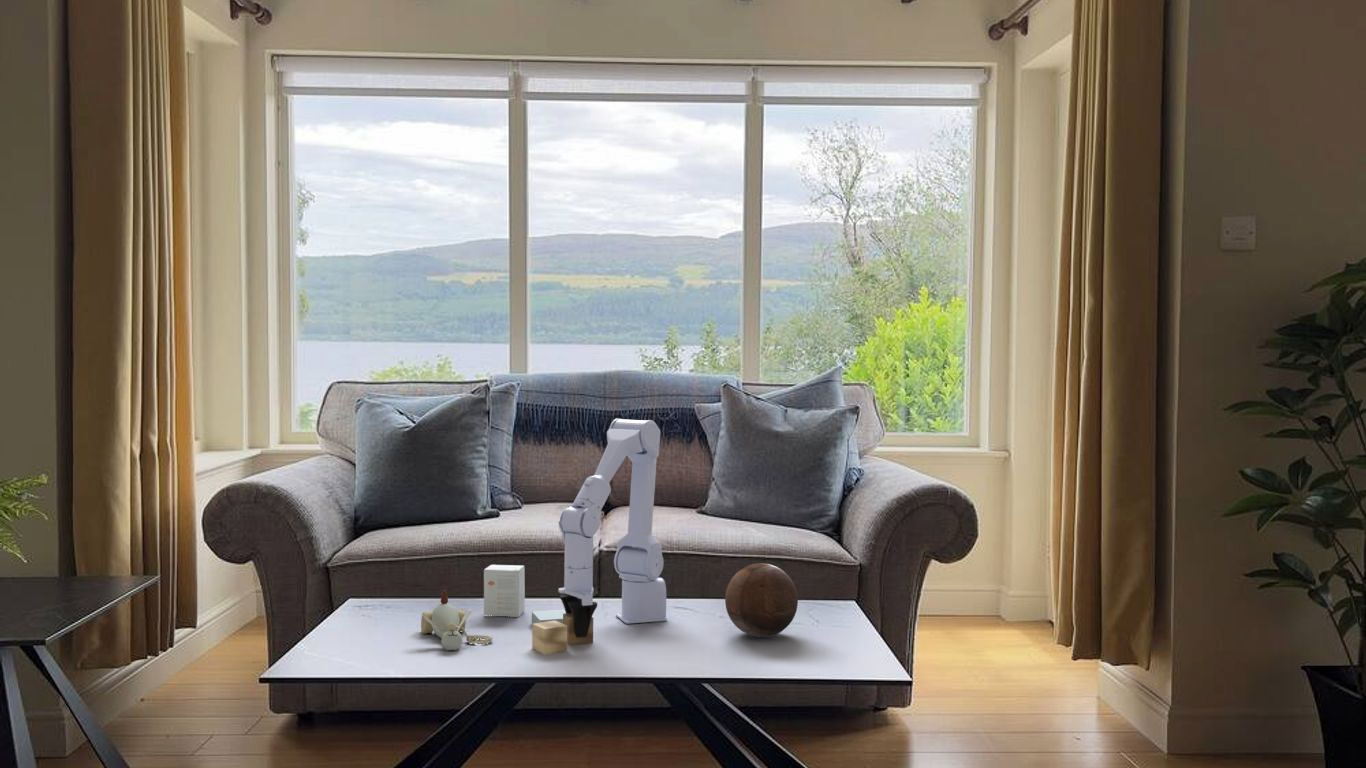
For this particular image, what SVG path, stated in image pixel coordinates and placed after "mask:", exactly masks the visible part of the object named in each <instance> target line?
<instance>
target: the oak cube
mask: <svg viewBox="0 0 1366 768" xmlns="http://www.w3.org/2000/svg"><path fill="white" fill-rule="evenodd" d="M531 625H532V628H531V629H532V630H531V631H532V632H531V634H532V635H531V636H532V637H531V638H532V639H531V640H532V641H531V644H532V645H531V649H532V650H534V649H535V650H534V651H536V652H539V653H540V654H543V655H544V656H545V655H551V654H555V653H556V654H558V653H562V652H567V651H568V643H567V625H565V624H562V623H560V622H558V621H555V620H554V621H547V622H541V623H534V624H532V623H531Z"/></svg>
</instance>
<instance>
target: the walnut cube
mask: <svg viewBox="0 0 1366 768" xmlns="http://www.w3.org/2000/svg"><path fill="white" fill-rule="evenodd" d="M563 624H565V625H567V645H578V644H589V643H590V644H591V643H594V617H593V616H592V618H591V621H590V626H589V630H588V634H587V637H576V634H575V629H574V620H573V615H572V613H566V614H563Z"/></svg>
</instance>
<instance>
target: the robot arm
mask: <svg viewBox="0 0 1366 768" xmlns="http://www.w3.org/2000/svg"><path fill="white" fill-rule="evenodd" d="M606 440H607V445H606V448H605V450H604V452H603V454H602V457H601V458H600V462H599V464H598V466H597V468H596V470H595V473H594V475H591V476H588V477H587V478H586V479H585V480H584V483H582V486H581V488H580V490H579V491H578V492H577V493H578V494H577V495H576V496H575V499H574V501H573V502H572V505H571V506H568V507H567V508H565V509H564V510H563V511H562V512H561V514H560V517H559V521H558V528H559V530H560V531H559V532H560V533H561V536H562V537H561V540H562V542H563V543H564V574H563V575H564V577H563V580H564V581H563V582H564V584H563V585H564V586H563V587H559V588H558V590H557V591H558V593H559V594H560V595H559V598H560V600H561V603H562V605H563V609H565V612H566V613H572V615H573V620H574V629H575V634H576V637H587V634H588V630H589V626H590V621H591V618H592V617H593V616H594V613H595V611H596V609H597V607H598V602H596V601H594V600H593V596H594V595H593V594H594V589H595V588H594V587H593V584H594V583H593V581H594V579H593V578H594V577H593V576H594V574H593V573H594V569H593V568H594V536H595V535H596V534H597V532H598V530H599V528H600V526H601V525H600V524H601V517H602V509H603V507H604V506H605V503H606V502H607V500H608V498H609V495H610V494H611V492H612V488H611V485H610V482H611V481H612V479H613V478H614V476H615V475H616V472H617V471H618V470H619V468H620V467H621V465H622V464H623V462H624V460H625V458H626V457H627V458H628V459H629V460H630V462H632V465H631V480H630V494H629V495H630V496H629V506H628V507H629V508H628V509H629V510H628V522H627V534H626V535H624V536H623V537H622V538H620V539H619V540H618V541H617V548H616V552H615V554H614V558H613V565H614V570H615V571H616V573H617V574H618V575H619V576H618V578H619V579H621V612H618V613H615V616H616V617H618V618H619V620H621V621H622V622H623V623H625V624H629V625H630V624H639V623H651V622H652V623H653V622H655V623H656V622H665V621H668V618H667V587H666V581H665V579H664V578H662V577H660V575H661V574H662V571H663V569H664V557H663V552H662V551H663V550H662V549H663V545H662V544H661V542H660V541H659V540H658V539H657V538H656V537H655V536H653V534H652V533H653V520H654V519H653V517H654V507H655V505H654V504H655V503H654V501H655V491H656V490H655V489H656V477H657V476H656V474H657V458H658V457H659V456H660V443H661V442H660V441H661V429H660V428H659V426H658V425H657V423H656V421H654V420H651V419H648V420H647V419H646V420H643V419H642V420H641V419H640V420H638V419H625V418H624V419H623V418H615V419H613V420H612V422H611V423H610V425H609V426H608V430H607V431H606Z"/></svg>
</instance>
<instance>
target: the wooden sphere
mask: <svg viewBox="0 0 1366 768" xmlns="http://www.w3.org/2000/svg"><path fill="white" fill-rule="evenodd" d="M724 599H725V600H724V602H725V609H726V612H727V616H728V617H729V619H730V621H731V622H732V623H733V625H734V626H735V627H736V628H738V629H739V630H740V631H741V632H742V633H744V634H746V635H748V636H752V637H756V638H768V637H772V636H775V635H778V634H780V633H782V632H783V631H784V630H785V629H787V628H788V626H789V625H790V624H791V623H792V622H793V620H794V619H795V616H796V613H797V610H798V606H799V605H798V604H799V603H798V602H799V598H798V592H797V588H796V586H795V583H794V582H793V580H792V579H791V577H790V576H789V575H788V574H787V573H786V572H785V571H784V570H782V569H781V568H779V567H778V566H775V565H772V564H769V563H762V562H761V563H758V562H757V563H753V564H752V563H751V564H749V565H747V566H745V567H743V568H741V569H740V570H739V571H737V572H736V573H735V574H734V575H733V576H732V578H731V579H730V581H729V582H728V585H727V588H726V591H725V596H724Z"/></svg>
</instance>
